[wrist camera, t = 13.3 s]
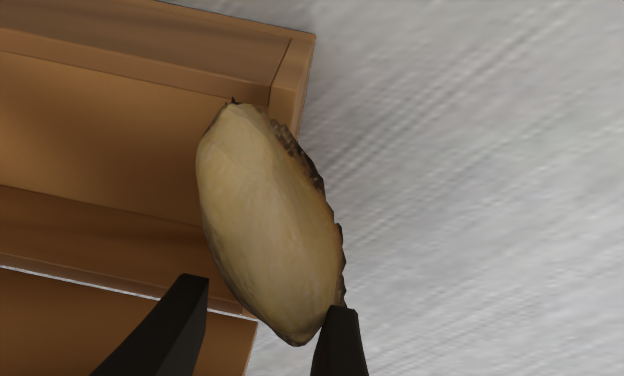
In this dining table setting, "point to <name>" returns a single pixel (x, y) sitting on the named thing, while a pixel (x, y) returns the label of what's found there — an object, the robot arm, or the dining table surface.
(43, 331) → the lid
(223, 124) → the nut kernel
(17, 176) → the box
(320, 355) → the robot arm
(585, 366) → the dining table surface
